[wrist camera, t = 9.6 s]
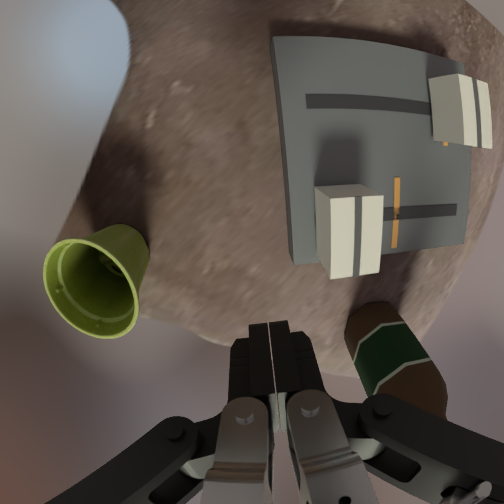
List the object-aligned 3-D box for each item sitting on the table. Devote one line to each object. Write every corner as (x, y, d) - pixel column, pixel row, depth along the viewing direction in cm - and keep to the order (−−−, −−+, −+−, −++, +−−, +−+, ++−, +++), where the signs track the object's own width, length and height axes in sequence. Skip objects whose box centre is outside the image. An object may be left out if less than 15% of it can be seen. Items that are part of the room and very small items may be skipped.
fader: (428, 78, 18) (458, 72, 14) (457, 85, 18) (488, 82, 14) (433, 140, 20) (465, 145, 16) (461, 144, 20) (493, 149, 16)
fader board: (269, 46, 20) (272, 36, 17) (446, 66, 20) (463, 63, 17) (289, 252, 28) (294, 265, 25) (448, 234, 28) (464, 243, 25)
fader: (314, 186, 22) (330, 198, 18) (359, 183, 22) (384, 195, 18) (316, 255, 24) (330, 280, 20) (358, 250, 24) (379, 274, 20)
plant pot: (150, 303, 30) (126, 355, 22) (80, 268, 28) (40, 309, 20) (178, 231, 27) (152, 271, 19) (97, 194, 25) (48, 219, 17)
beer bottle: (363, 290, 30) (471, 478, 8) (408, 307, 32) (509, 457, 9) (330, 341, 33) (390, 524, 11) (375, 352, 34) (443, 504, 12)
